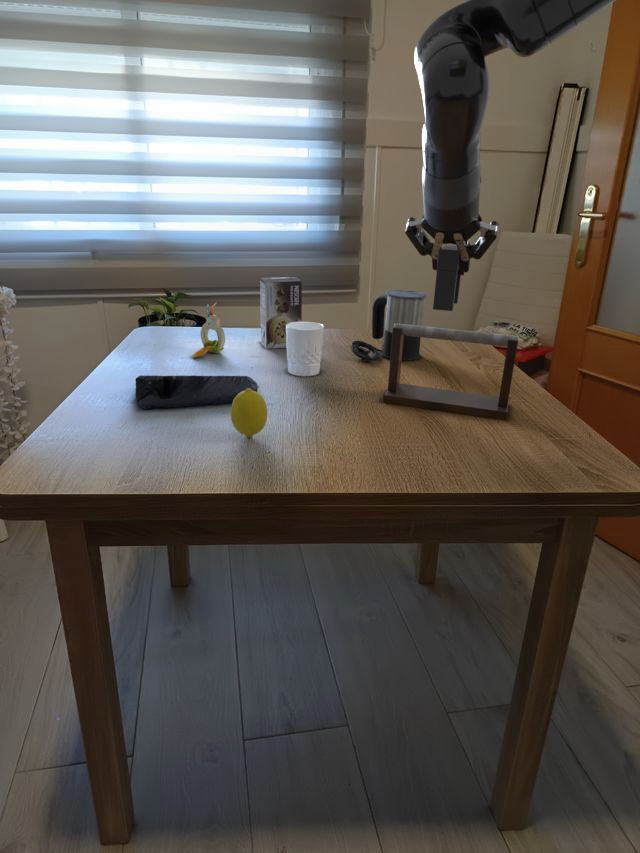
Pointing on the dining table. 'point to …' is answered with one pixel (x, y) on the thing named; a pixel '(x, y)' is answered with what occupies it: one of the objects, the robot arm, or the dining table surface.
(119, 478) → the dining table surface
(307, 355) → the white cup
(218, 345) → the rattle
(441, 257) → the dark grey hook
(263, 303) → the coffee box
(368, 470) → the dining table surface
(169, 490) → the dining table surface
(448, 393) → the rail stand
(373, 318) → the milk frother
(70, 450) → the dining table surface
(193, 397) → the dark slate chunk
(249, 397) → the lemon
